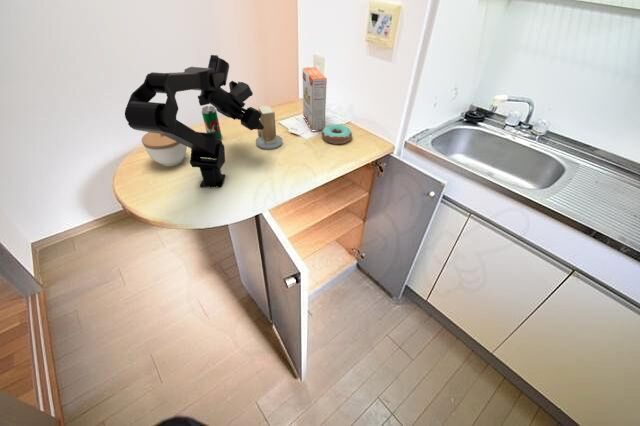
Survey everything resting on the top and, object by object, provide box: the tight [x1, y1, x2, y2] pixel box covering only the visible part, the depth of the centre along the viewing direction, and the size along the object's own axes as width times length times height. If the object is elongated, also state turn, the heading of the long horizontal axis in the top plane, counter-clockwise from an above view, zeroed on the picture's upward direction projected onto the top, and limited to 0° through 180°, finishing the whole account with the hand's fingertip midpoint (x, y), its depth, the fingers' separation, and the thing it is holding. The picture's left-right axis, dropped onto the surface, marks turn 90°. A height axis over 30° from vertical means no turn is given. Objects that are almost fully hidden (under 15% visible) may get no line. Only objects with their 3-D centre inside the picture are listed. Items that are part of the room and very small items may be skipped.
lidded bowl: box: [141, 132, 188, 167], centre depth 96 cm, size 13×13×11 cm
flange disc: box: [255, 129, 283, 151], centre depth 110 cm, size 10×10×4 cm
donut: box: [321, 123, 353, 145], centre depth 114 cm, size 12×12×4 cm
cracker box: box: [302, 66, 327, 132], centre depth 117 cm, size 14×6×21 cm, turn 17°
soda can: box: [201, 105, 223, 140], centre depth 108 cm, size 5×5×12 cm
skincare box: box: [258, 105, 277, 145], centre depth 106 cm, size 6×4×12 cm
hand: (255, 124), depth 101 cm, fingers open, 9 cm apart
